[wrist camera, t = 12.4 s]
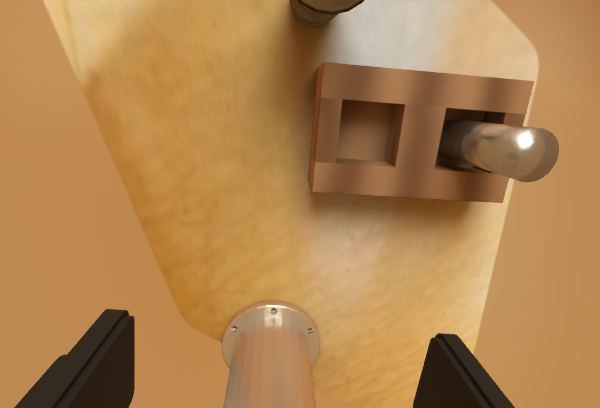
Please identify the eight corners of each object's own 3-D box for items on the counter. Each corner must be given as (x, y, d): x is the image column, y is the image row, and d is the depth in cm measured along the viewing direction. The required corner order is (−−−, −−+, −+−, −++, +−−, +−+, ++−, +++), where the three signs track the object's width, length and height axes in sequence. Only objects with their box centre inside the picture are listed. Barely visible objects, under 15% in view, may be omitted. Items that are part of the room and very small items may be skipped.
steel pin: (465, 157, 37) (550, 183, 26) (430, 155, 37) (501, 180, 26) (473, 120, 36) (565, 130, 25) (437, 118, 36) (514, 126, 24)
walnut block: (500, 83, 37) (534, 81, 32) (475, 190, 40) (502, 202, 35) (317, 67, 35) (324, 62, 30) (308, 180, 39) (312, 191, 34)
